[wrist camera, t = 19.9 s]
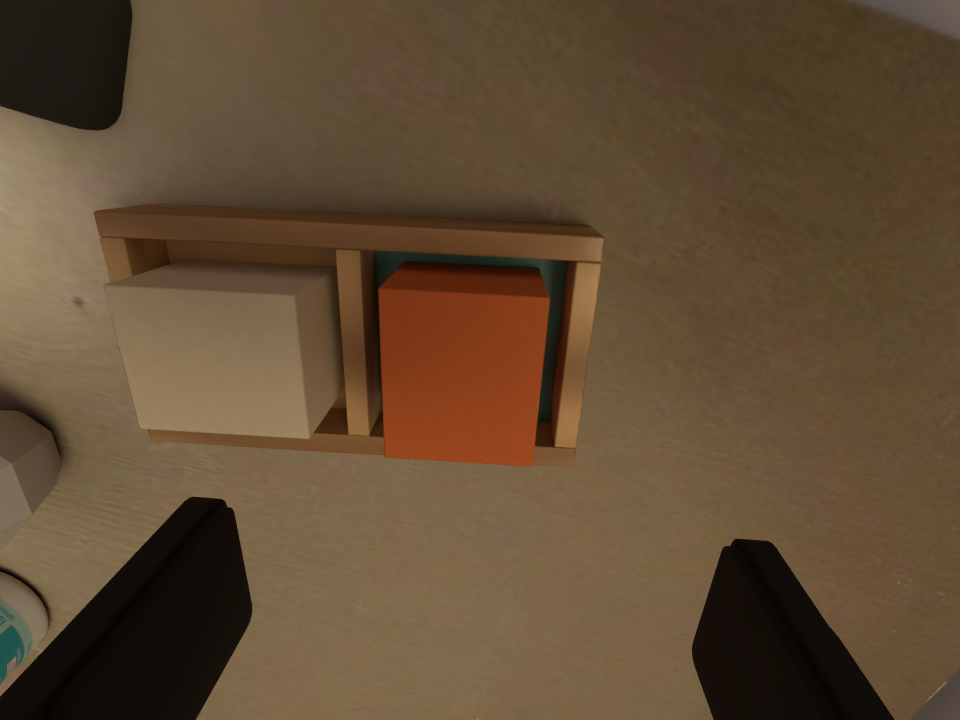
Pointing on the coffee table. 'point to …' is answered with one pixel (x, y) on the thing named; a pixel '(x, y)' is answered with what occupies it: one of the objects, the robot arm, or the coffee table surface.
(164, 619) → the robot arm
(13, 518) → the apple
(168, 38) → the coffee table surface
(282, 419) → the beige block
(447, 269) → the orange block
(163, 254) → the holder
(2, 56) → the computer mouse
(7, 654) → the pill bottle
